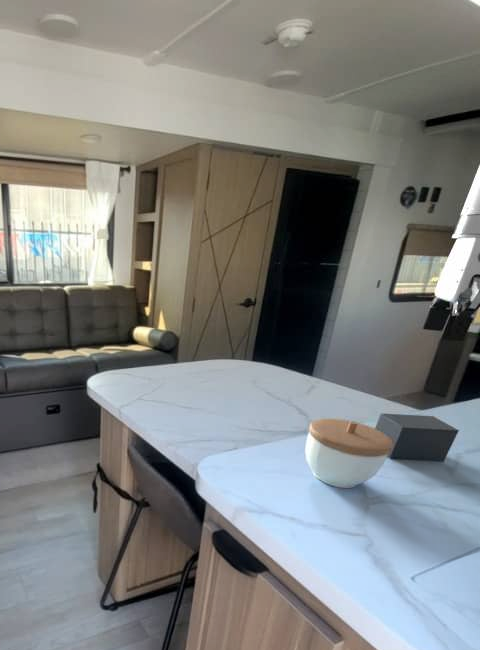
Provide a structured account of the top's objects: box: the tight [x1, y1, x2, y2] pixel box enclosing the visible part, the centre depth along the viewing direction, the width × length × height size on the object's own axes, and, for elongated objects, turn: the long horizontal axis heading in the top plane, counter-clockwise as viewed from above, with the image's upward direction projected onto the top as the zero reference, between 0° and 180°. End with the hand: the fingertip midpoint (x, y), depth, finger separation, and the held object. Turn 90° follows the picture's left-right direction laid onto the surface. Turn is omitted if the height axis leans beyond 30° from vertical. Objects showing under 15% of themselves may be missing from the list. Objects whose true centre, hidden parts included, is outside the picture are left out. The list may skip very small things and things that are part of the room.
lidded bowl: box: [304, 417, 393, 489], centre depth 72 cm, size 13×13×11 cm
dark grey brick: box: [374, 412, 460, 462], centre depth 83 cm, size 11×7×7 cm, turn 89°
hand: (441, 334), depth 73 cm, fingers open, 9 cm apart
